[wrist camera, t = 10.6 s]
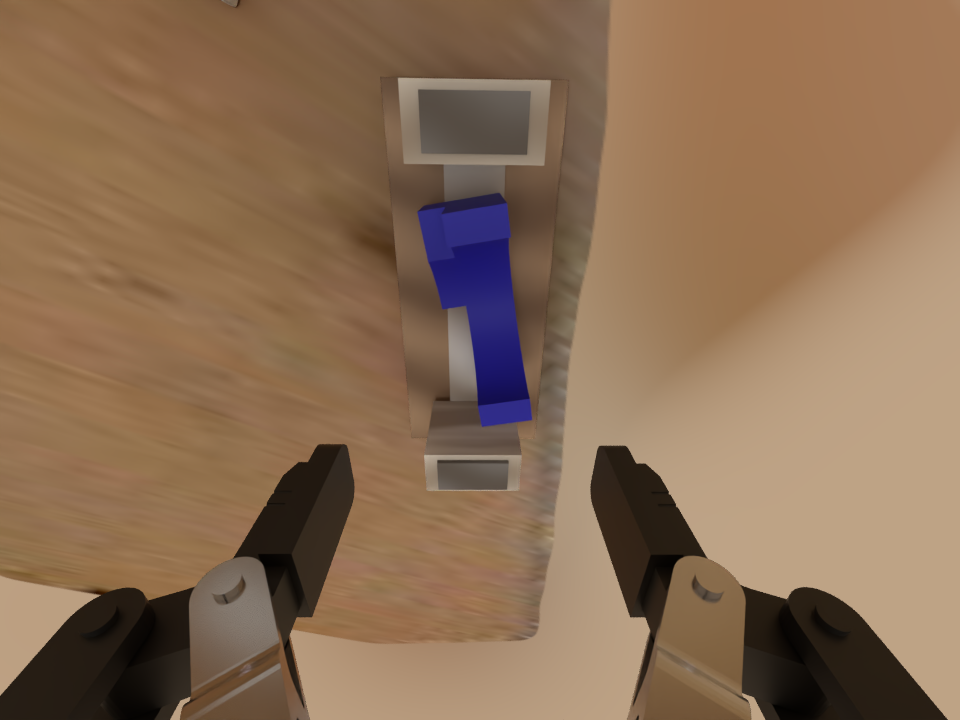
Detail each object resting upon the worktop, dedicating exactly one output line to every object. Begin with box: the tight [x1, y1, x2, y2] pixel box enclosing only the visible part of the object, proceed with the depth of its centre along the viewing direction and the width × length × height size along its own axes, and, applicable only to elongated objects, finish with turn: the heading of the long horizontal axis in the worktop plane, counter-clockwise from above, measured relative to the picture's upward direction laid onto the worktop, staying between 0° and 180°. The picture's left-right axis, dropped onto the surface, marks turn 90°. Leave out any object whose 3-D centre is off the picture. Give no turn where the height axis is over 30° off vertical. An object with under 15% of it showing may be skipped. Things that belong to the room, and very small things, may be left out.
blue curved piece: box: [417, 193, 532, 427], centre depth 23 cm, size 12×4×6 cm, turn 9°
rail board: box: [380, 77, 569, 491], centre depth 24 cm, size 24×10×8 cm, turn 179°
